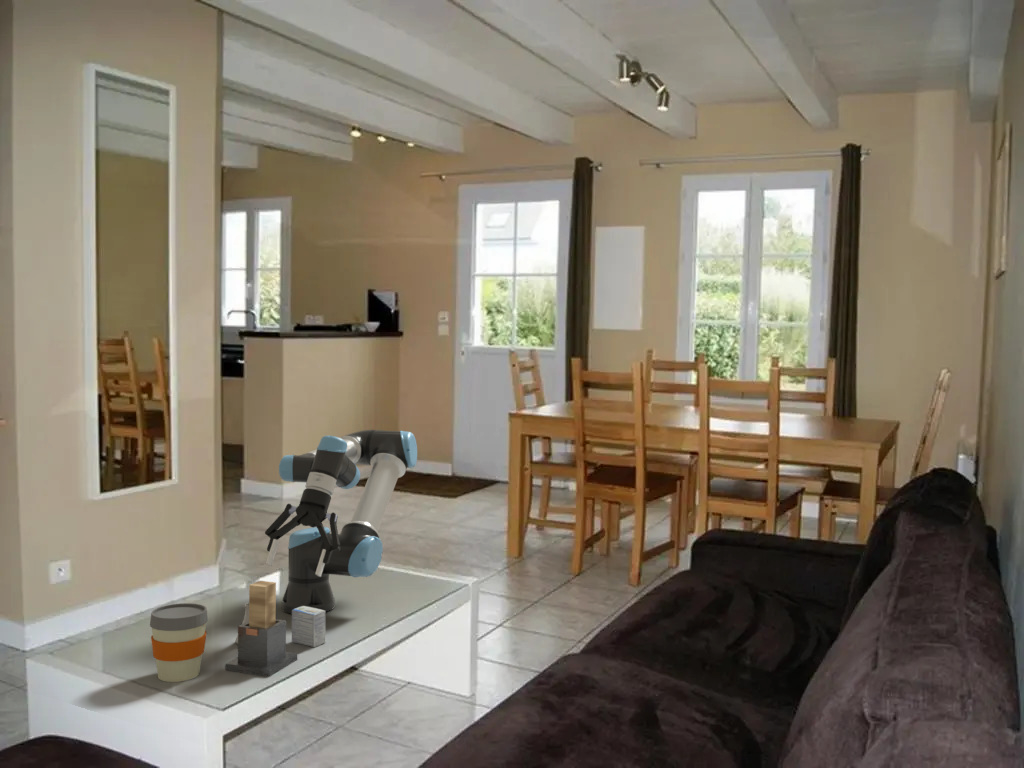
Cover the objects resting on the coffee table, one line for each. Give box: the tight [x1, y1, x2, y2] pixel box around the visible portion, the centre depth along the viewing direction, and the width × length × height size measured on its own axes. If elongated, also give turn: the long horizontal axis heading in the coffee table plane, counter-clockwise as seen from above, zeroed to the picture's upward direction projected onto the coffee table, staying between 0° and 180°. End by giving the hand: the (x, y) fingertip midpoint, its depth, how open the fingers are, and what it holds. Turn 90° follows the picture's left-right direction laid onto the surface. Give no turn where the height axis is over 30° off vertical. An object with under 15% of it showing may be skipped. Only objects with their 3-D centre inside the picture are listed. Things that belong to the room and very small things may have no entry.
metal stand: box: [224, 619, 298, 677], centre depth 212 cm, size 12×12×10 cm
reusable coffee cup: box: [149, 602, 209, 683], centre depth 205 cm, size 12×13×15 cm
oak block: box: [248, 580, 277, 628], centre depth 212 cm, size 5×5×18 cm
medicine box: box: [291, 606, 326, 648], centre depth 229 cm, size 8×4×9 cm, turn 59°
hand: (293, 570), depth 227 cm, fingers open, 13 cm apart
